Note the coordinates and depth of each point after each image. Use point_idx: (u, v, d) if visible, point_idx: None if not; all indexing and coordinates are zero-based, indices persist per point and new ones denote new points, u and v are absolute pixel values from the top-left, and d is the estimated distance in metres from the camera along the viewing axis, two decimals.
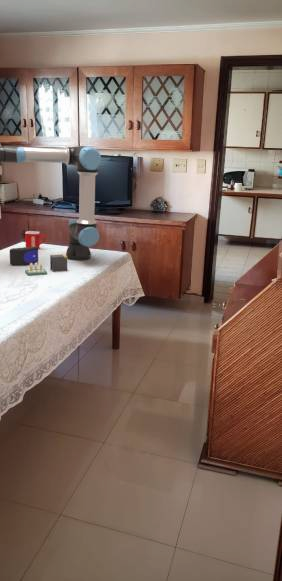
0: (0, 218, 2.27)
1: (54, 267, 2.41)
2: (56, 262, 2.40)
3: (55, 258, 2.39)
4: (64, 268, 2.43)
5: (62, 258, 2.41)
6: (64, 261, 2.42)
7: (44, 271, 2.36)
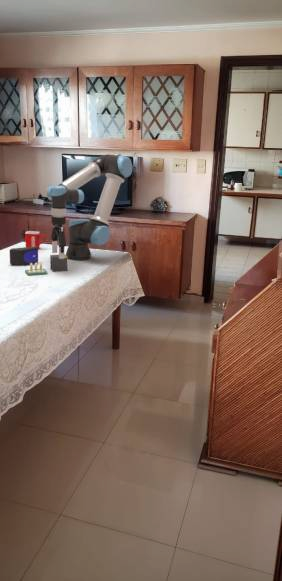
0: (63, 258, 2.36)
1: (54, 267, 2.41)
2: (56, 262, 2.40)
3: (55, 258, 2.39)
4: (64, 268, 2.43)
5: None
6: (64, 261, 2.42)
7: (44, 271, 2.36)
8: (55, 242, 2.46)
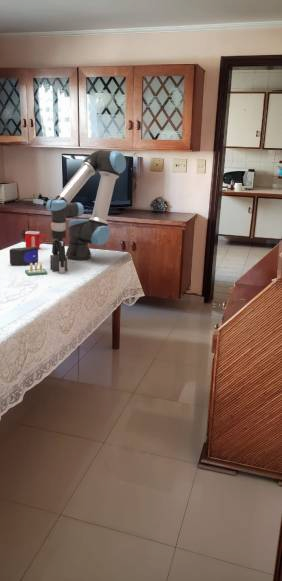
0: (64, 272, 2.40)
1: (54, 267, 2.41)
2: (56, 262, 2.40)
3: (55, 258, 2.39)
4: None
5: (62, 258, 2.41)
6: None
7: (44, 271, 2.36)
8: None
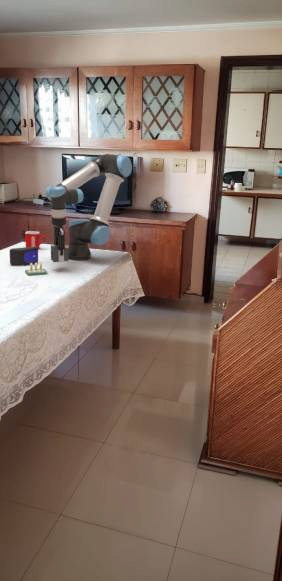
0: (63, 260, 2.41)
1: (55, 257, 2.39)
2: (57, 252, 2.39)
3: (55, 248, 2.38)
4: (65, 258, 2.42)
5: None
6: (65, 251, 2.41)
7: (44, 271, 2.36)
8: None
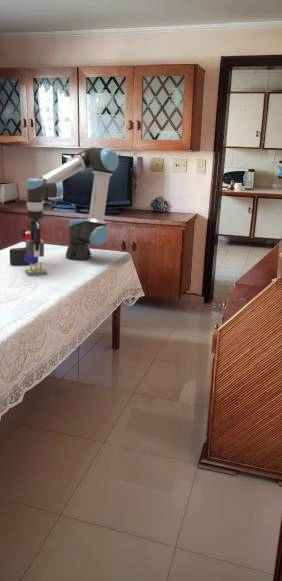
0: (39, 256, 2.31)
1: (30, 252, 2.29)
2: (32, 247, 2.29)
3: (31, 243, 2.28)
4: (41, 253, 2.32)
5: None
6: (40, 246, 2.31)
7: (44, 271, 2.36)
8: None
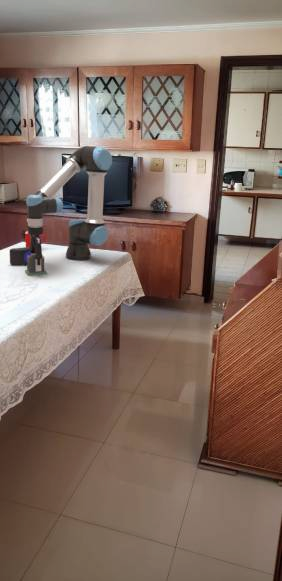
0: (40, 270, 2.31)
1: (30, 268, 2.32)
2: (32, 263, 2.32)
3: (31, 259, 2.31)
4: (41, 268, 2.35)
5: None
6: (41, 262, 2.33)
7: None
8: None
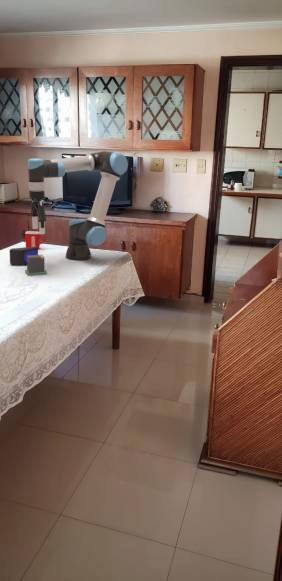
0: (44, 233, 2.30)
1: (30, 268, 2.32)
2: (32, 263, 2.32)
3: (31, 259, 2.31)
4: (41, 268, 2.35)
5: (39, 259, 2.32)
6: (41, 262, 2.33)
7: None
8: (35, 218, 2.39)
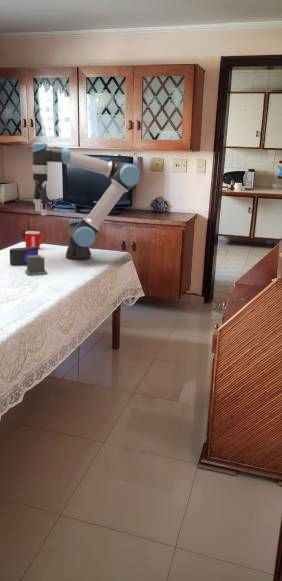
0: None
1: (30, 268, 2.32)
2: (32, 263, 2.32)
3: (31, 259, 2.31)
4: (41, 268, 2.35)
5: (39, 259, 2.32)
6: (41, 262, 2.33)
7: None
8: (38, 200, 2.49)
